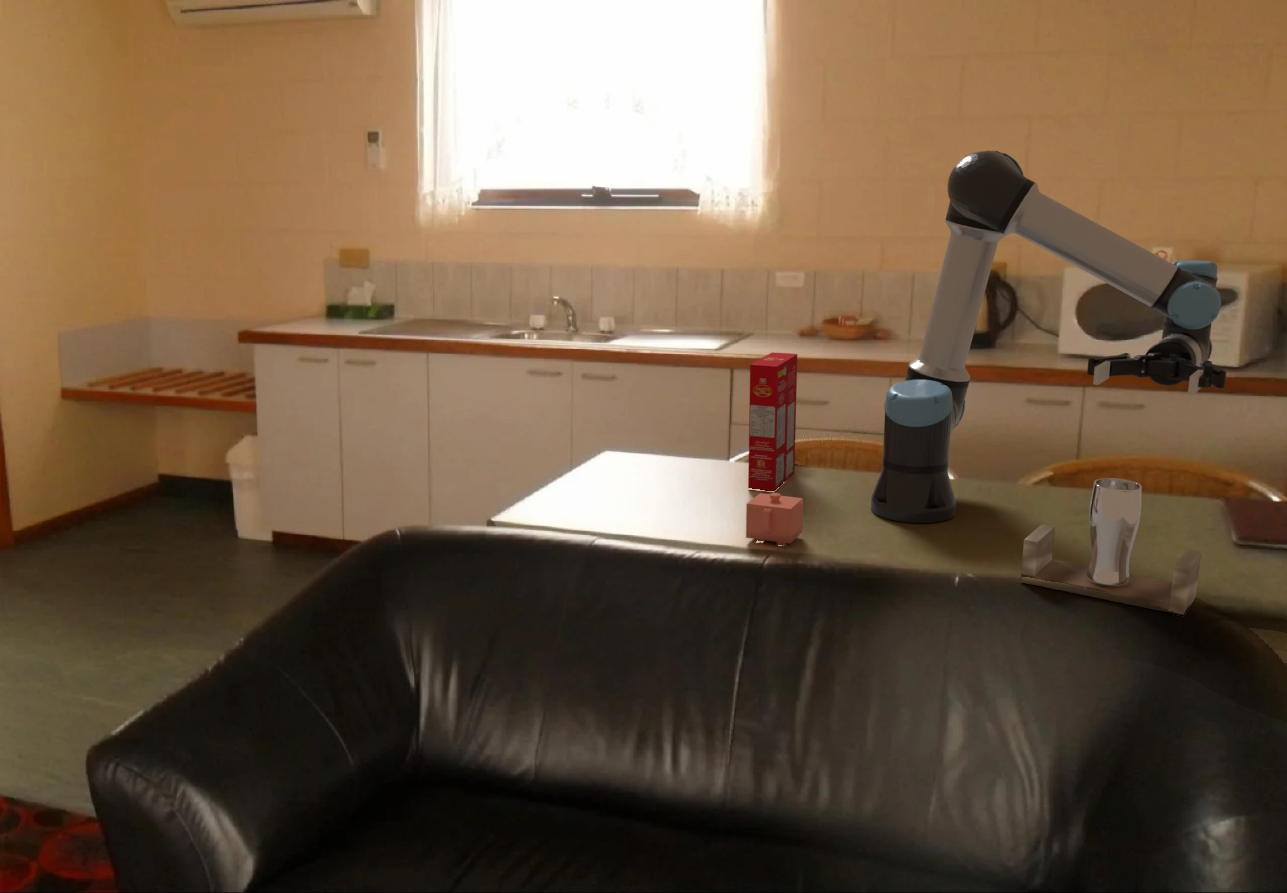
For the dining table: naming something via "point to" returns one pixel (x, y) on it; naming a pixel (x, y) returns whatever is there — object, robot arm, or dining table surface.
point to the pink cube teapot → (774, 518)
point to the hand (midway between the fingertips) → (1142, 380)
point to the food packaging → (772, 420)
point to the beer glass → (1113, 530)
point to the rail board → (1139, 588)
